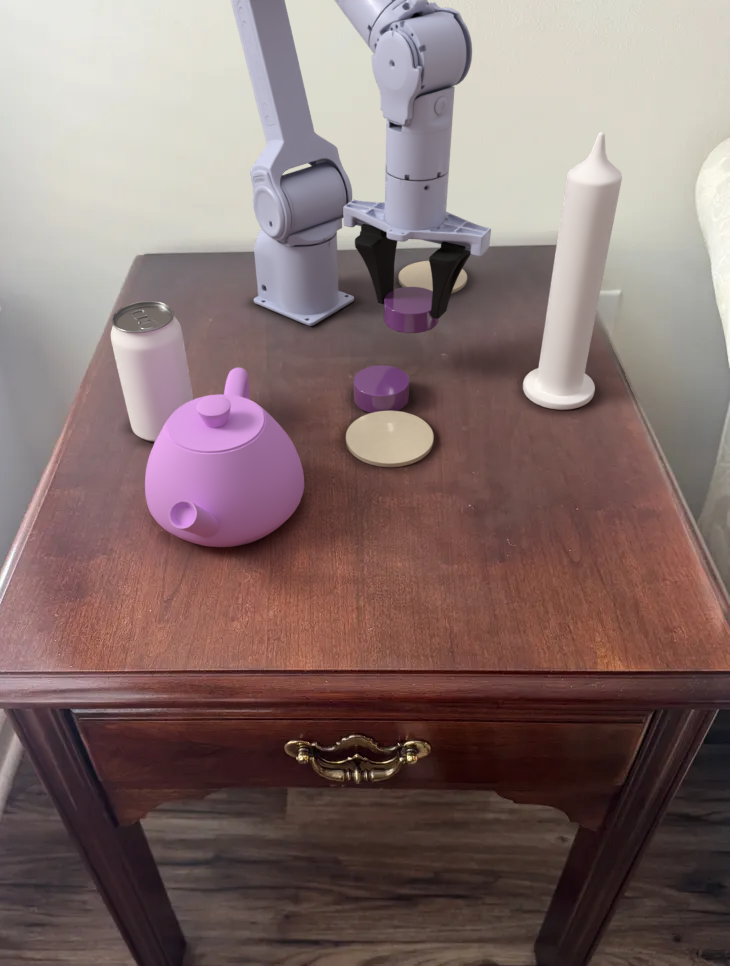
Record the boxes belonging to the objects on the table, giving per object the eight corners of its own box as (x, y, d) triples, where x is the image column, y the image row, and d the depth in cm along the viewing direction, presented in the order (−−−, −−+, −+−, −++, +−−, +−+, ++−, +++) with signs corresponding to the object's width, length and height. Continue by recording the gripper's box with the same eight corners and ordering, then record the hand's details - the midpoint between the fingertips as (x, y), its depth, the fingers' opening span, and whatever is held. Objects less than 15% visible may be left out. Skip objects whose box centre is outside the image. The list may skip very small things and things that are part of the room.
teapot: (114, 584, 69) (83, 483, 62) (181, 436, 83) (164, 340, 76) (280, 599, 67) (270, 497, 60) (320, 446, 82) (316, 348, 74)
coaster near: (327, 444, 82) (327, 440, 81) (382, 404, 86) (382, 400, 86) (397, 479, 78) (397, 475, 77) (450, 435, 82) (451, 431, 82)
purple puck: (342, 400, 87) (342, 382, 85) (376, 377, 90) (377, 358, 88) (385, 421, 84) (386, 402, 83) (419, 395, 87) (420, 377, 86)
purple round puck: (372, 321, 87) (372, 302, 85) (406, 300, 90) (406, 281, 88) (416, 339, 84) (417, 319, 83) (449, 317, 87) (451, 297, 86)
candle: (593, 413, 84) (648, 150, 66) (519, 406, 85) (555, 146, 68) (594, 374, 89) (646, 119, 71) (525, 368, 90) (559, 116, 73)
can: (144, 452, 82) (119, 341, 74) (123, 417, 86) (97, 309, 78) (206, 431, 84) (189, 322, 76) (183, 399, 88) (164, 292, 80)
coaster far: (384, 282, 105) (384, 279, 105) (425, 258, 109) (425, 254, 109) (440, 303, 101) (440, 299, 101) (480, 276, 105) (480, 272, 105)
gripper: (325, 170, 77) (329, 307, 87) (472, 199, 71) (460, 342, 81) (363, 145, 81) (363, 278, 91) (505, 171, 76) (490, 310, 85)
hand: (411, 306), depth 86 cm, fingers closed on purple round puck, 5 cm apart
